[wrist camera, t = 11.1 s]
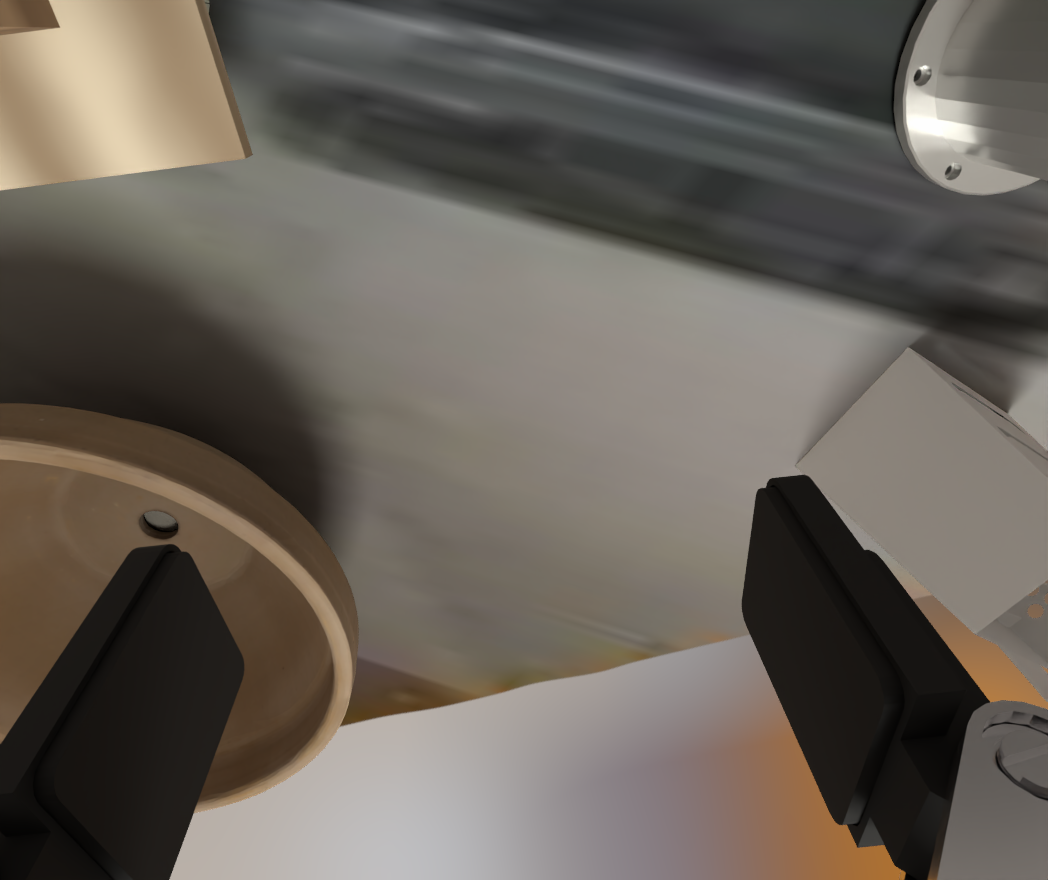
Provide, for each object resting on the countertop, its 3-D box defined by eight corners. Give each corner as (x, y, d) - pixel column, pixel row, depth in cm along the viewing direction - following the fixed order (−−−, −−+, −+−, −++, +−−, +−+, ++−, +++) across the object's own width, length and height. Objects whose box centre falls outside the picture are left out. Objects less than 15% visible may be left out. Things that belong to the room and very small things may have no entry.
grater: (1007, 413, 44) (1338, 647, 27) (893, 518, 49) (1117, 773, 32) (908, 346, 41) (1217, 566, 24) (794, 466, 45) (988, 721, 28)
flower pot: (292, 273, 35) (212, 383, 24) (425, 617, 51) (413, 781, 40) (-192, 372, 36) (-482, 521, 25) (83, 680, 52) (-22, 857, 41)
